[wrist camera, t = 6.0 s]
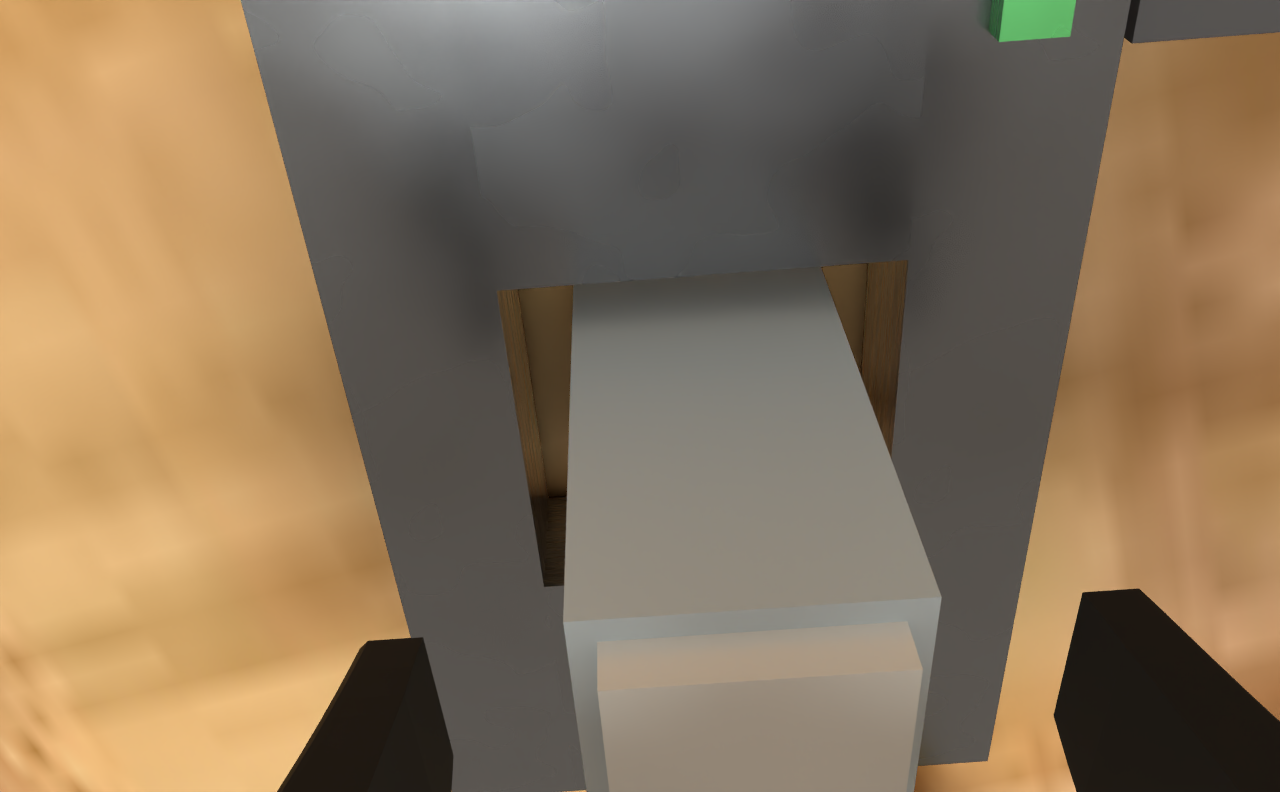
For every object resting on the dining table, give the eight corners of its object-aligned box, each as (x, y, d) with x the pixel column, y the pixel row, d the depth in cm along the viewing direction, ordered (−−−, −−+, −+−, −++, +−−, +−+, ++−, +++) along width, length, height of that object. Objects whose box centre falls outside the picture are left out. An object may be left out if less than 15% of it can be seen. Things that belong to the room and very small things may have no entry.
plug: (810, 240, 16) (959, 644, 10) (804, 430, 19) (921, 871, 12) (574, 256, 16) (561, 671, 10) (593, 444, 19) (594, 893, 12)
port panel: (1090, -236, 13) (1189, -213, 11) (955, 669, 22) (993, 779, 20) (257, -171, 13) (191, -135, 11) (465, 704, 22) (451, 818, 20)
